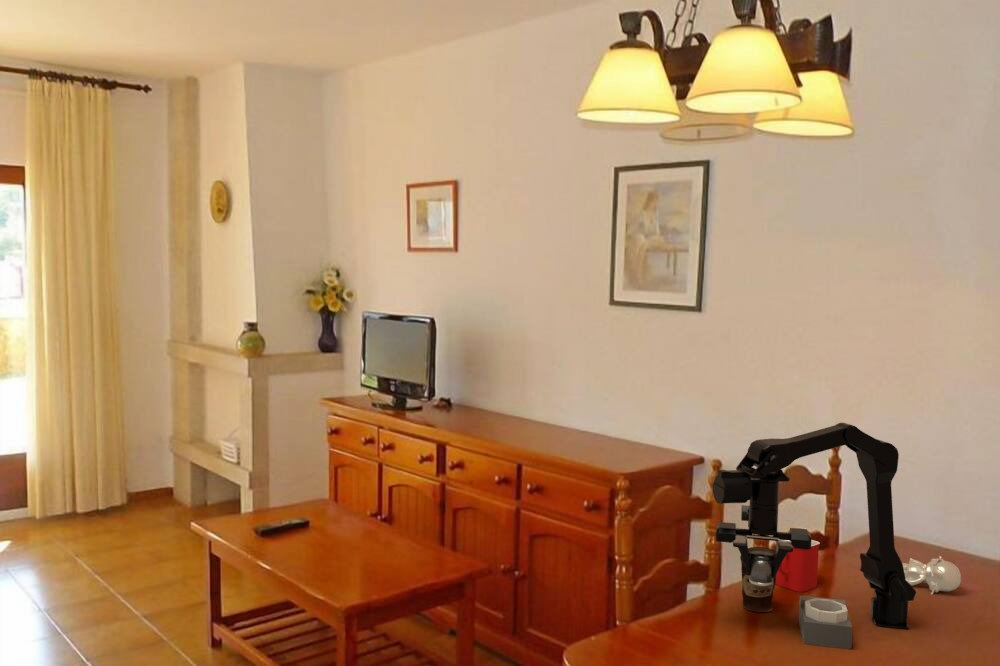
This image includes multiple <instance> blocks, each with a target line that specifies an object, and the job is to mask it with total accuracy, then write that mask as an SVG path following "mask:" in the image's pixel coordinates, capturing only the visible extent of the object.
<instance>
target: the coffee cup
mask: <svg viewBox="0 0 1000 666" xmlns="http://www.w3.org/2000/svg"><path fill="white" fill-rule="evenodd" d="M752 551H766V552H770V553H772V554H773V564H774V558H775V552H776V549H771V548H768V547H762V546H754V547H753V546H751V547H748V553H749V562H750V553H751V552H752ZM739 558H740V564H741V567H740V568H741V581H742V582H741V583H742V584H741V585H742V586H741V588H742V589H741V594H742V607H743V609H744V608H745V609H746V610H749V611H753V612H758V613H761V612H762V613H766V612H771V611H773V598H774V590H775V588H776V584H775V582H776V576H775V578H773V581H772V585H770V586H757V585H754V584H751V583H750V582H749V578H750V575H748V574H747V570H746V567H745V564H744V560H743V558H742V555H741V554H740V556H739Z"/></svg>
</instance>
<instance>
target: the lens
mask: <svg viewBox="0 0 1000 666" xmlns="http://www.w3.org/2000/svg"><path fill="white" fill-rule="evenodd" d="M772 581H773V554H772V553H770V552H766V551H752V552H751V553H750V578H749V582H750V583H751V584H754V585H757V586H770V585H772Z"/></svg>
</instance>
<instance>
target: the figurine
mask: <svg viewBox="0 0 1000 666" xmlns="http://www.w3.org/2000/svg"><path fill="white" fill-rule="evenodd" d="M902 564H903V569H904V573H905V580H906V581H907V582H908V583H909V584H910V585H911V586H912V587H913V586H916V585H919V584H921V583H924V584H926V583H927V586H928V588H929V590H930V595H931V596H933V595H934V593H938V592H952V591H955V590H956V589H958V588H959V586H960V584H961V582H962V574H961V571H960V570H959V568H958V566H956V565H955V564H954V563H953V562H950V561H947V560H945V559H943V557H942V556H941V555H939V556H938V558H931V560H930V561H929V562H927V563H926V564H925V563H923V562H921V561H919V560H917V559H914V558H912V557H910V558H909V561H908V563H906V562H902Z"/></svg>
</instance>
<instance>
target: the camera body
mask: <svg viewBox="0 0 1000 666" xmlns="http://www.w3.org/2000/svg"><path fill="white" fill-rule="evenodd" d="M798 624H799V629H800V634H801V638H802V643H803V644H804V645H812V646H821V647H828V648H837V649H846V650H847V649H848V650H852V640H853V639H852V637H853V625H852V623H851V620H850V617H849V614H848V609H847V601H846V600H844V599H836V598H828V597H827V598H826V597H820V596H819V597H818V596H807V595H799V612H798Z"/></svg>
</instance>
